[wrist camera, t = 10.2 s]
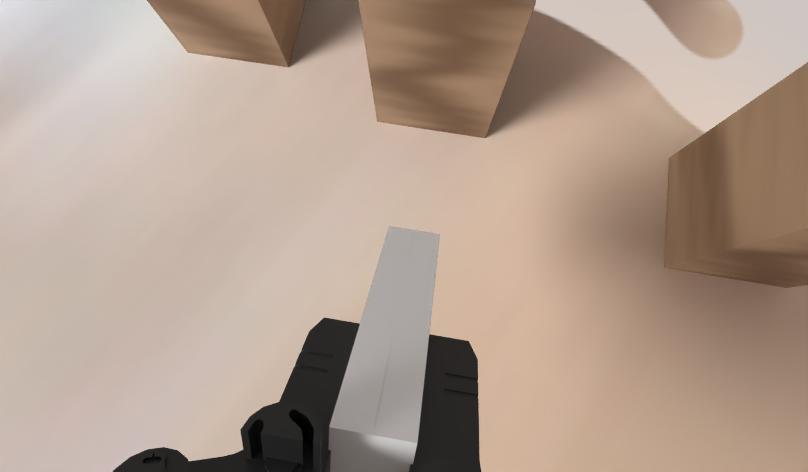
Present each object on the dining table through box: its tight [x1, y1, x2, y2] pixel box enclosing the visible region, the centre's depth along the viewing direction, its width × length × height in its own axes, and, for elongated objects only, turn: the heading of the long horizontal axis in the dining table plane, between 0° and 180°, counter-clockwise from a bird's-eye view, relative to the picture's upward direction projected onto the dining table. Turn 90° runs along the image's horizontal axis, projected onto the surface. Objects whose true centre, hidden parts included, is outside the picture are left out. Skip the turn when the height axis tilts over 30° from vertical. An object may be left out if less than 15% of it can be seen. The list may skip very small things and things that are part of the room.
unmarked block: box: [358, 0, 536, 138], centre depth 20 cm, size 6×6×10 cm
